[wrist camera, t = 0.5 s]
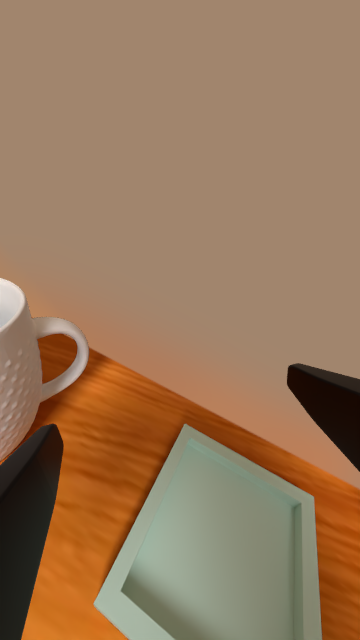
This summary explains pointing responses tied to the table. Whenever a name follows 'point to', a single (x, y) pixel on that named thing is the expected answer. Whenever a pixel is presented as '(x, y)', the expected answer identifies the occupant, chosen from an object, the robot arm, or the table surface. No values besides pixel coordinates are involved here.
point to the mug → (28, 364)
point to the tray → (217, 553)
